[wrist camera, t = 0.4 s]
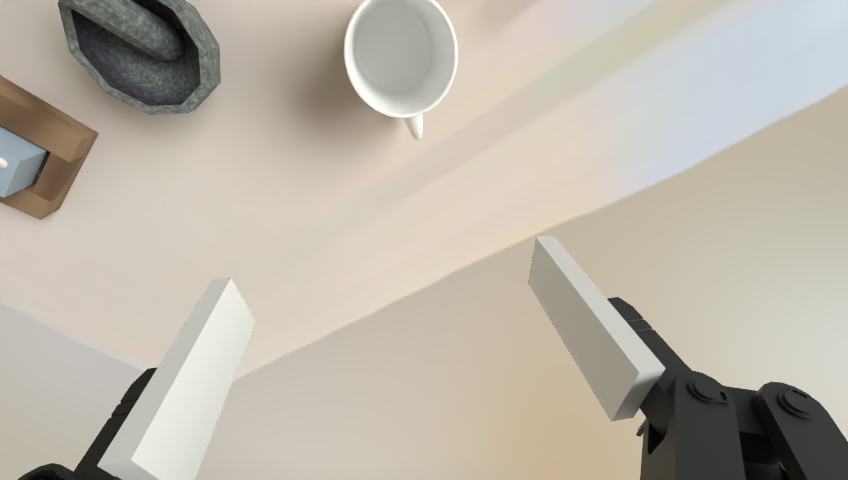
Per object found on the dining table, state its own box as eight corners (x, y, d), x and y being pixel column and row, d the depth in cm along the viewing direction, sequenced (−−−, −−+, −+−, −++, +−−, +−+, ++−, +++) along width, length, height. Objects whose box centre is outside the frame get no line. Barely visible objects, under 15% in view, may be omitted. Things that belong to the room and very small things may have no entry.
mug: (375, 133, 37) (376, 167, 28) (338, 9, 30) (324, 3, 21) (446, 115, 37) (469, 143, 28) (425, -14, 30) (448, -29, 21)
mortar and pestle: (260, 81, 32) (211, 105, 23) (179, 114, 33) (98, 152, 23) (176, -62, 26) (57, -114, 16) (78, -18, 27) (-93, -42, 17)
